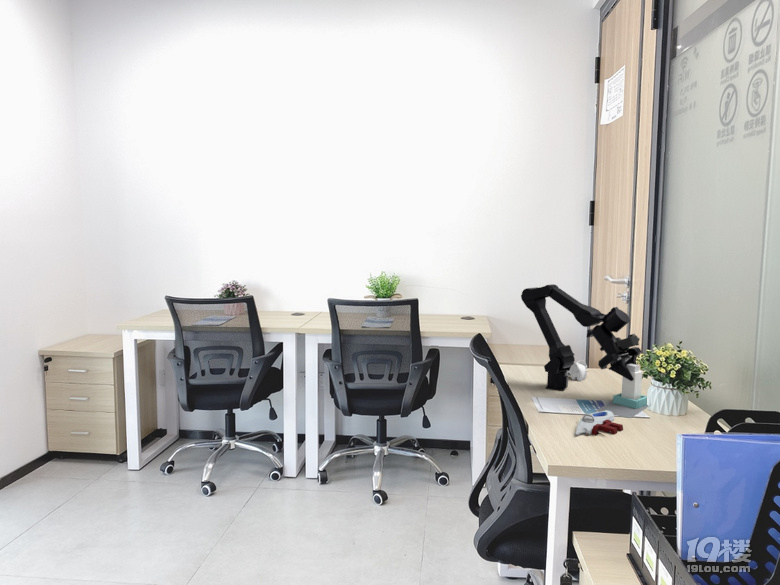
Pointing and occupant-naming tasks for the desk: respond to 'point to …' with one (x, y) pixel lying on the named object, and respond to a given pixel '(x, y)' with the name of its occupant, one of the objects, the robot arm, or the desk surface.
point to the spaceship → (592, 421)
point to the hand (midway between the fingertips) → (636, 379)
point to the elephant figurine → (578, 371)
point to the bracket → (607, 427)
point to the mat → (622, 410)
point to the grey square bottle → (632, 383)
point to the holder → (630, 401)
